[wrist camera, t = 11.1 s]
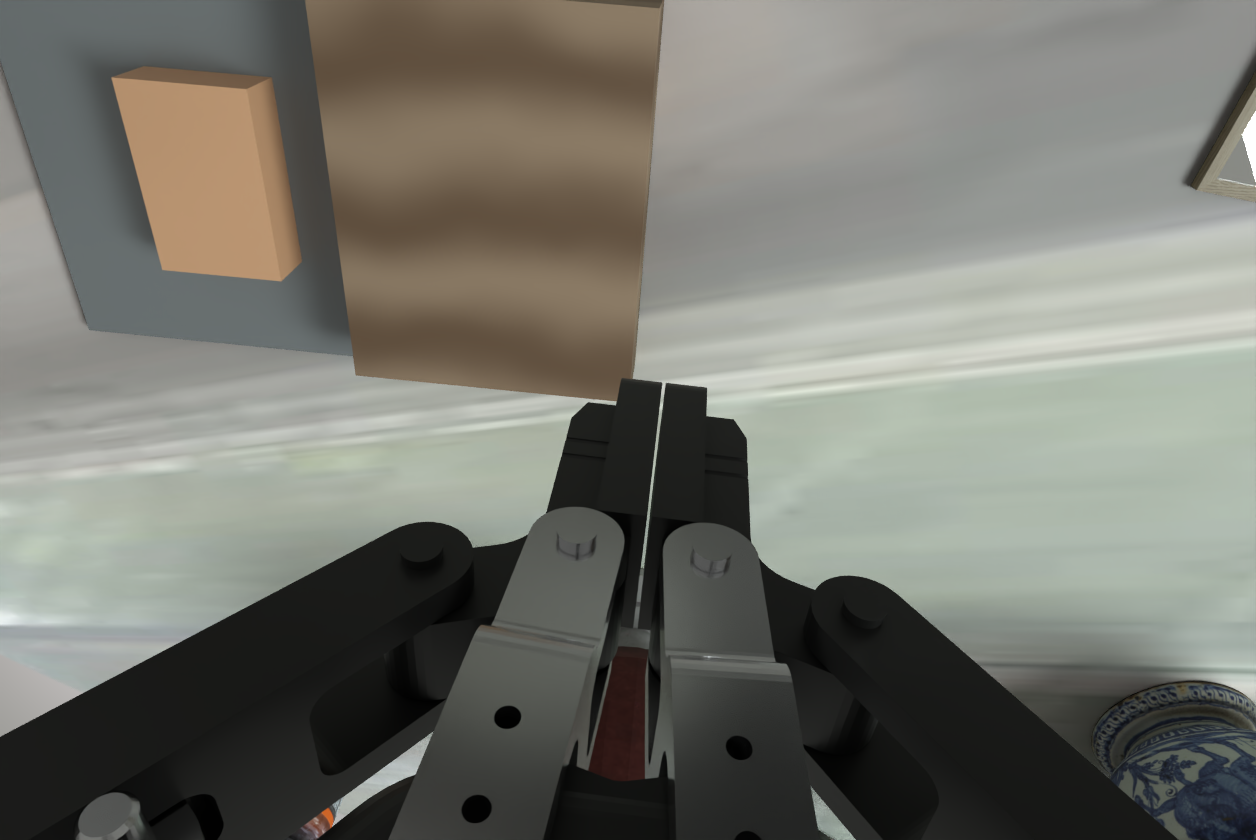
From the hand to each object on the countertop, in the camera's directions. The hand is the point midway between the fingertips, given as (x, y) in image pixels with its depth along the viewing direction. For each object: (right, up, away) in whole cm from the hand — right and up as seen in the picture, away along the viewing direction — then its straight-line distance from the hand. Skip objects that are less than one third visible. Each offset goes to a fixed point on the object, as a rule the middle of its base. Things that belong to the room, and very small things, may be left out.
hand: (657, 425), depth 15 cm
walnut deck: (-6, +11, +26) cm, 29 cm away
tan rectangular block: (-20, +12, +25) cm, 34 cm away
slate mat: (-22, +13, +26) cm, 37 cm away
